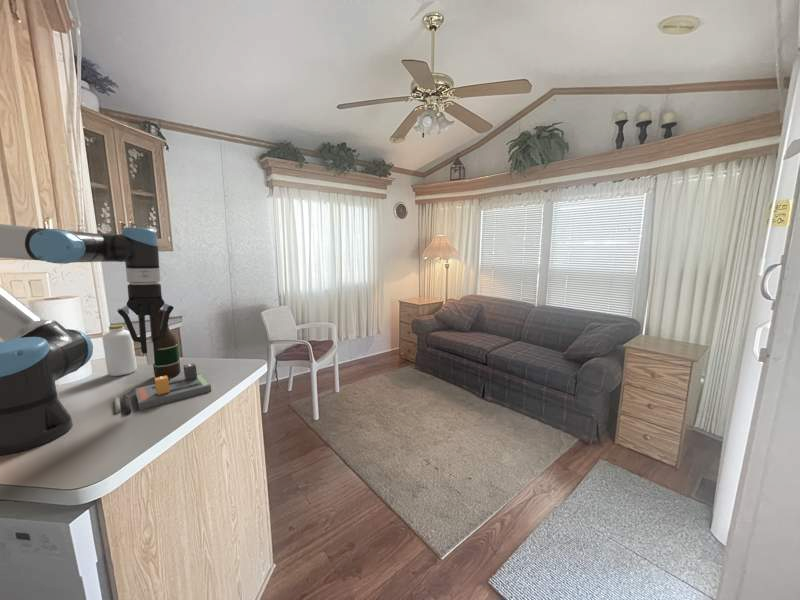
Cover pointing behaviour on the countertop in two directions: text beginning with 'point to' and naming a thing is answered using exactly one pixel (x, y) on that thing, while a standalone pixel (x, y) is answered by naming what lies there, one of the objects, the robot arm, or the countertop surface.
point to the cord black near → (126, 405)
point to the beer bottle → (166, 352)
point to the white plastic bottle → (119, 351)
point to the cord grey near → (117, 405)
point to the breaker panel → (171, 391)
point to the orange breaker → (162, 385)
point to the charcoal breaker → (190, 371)
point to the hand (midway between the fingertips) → (150, 363)
